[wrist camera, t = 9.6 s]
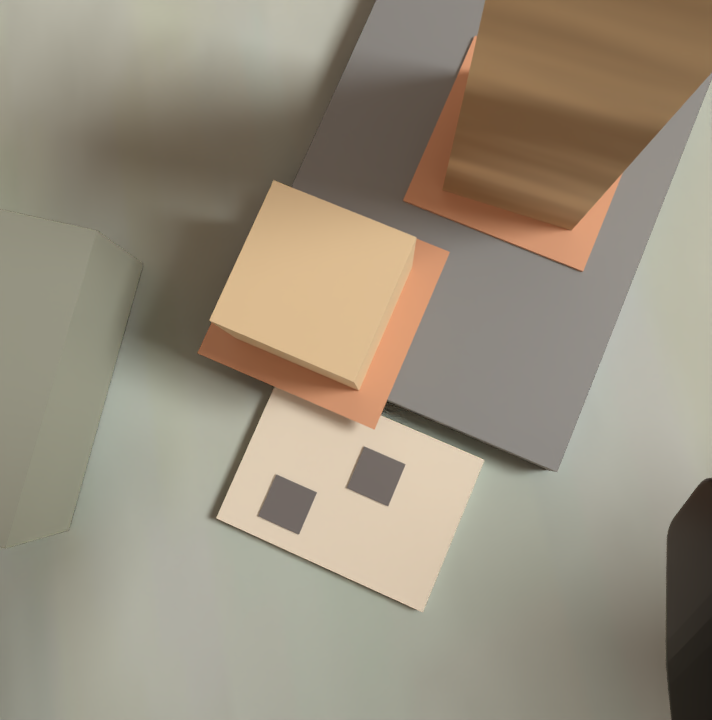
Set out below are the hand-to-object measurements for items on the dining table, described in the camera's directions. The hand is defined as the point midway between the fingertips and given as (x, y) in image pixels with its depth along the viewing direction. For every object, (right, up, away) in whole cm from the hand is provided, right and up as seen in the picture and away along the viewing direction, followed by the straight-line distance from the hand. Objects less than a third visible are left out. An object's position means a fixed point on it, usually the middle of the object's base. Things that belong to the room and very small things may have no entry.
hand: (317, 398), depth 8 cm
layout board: (+4, +6, +14) cm, 15 cm away
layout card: (0, -4, +13) cm, 13 cm away
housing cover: (-11, 0, +14) cm, 18 cm away
